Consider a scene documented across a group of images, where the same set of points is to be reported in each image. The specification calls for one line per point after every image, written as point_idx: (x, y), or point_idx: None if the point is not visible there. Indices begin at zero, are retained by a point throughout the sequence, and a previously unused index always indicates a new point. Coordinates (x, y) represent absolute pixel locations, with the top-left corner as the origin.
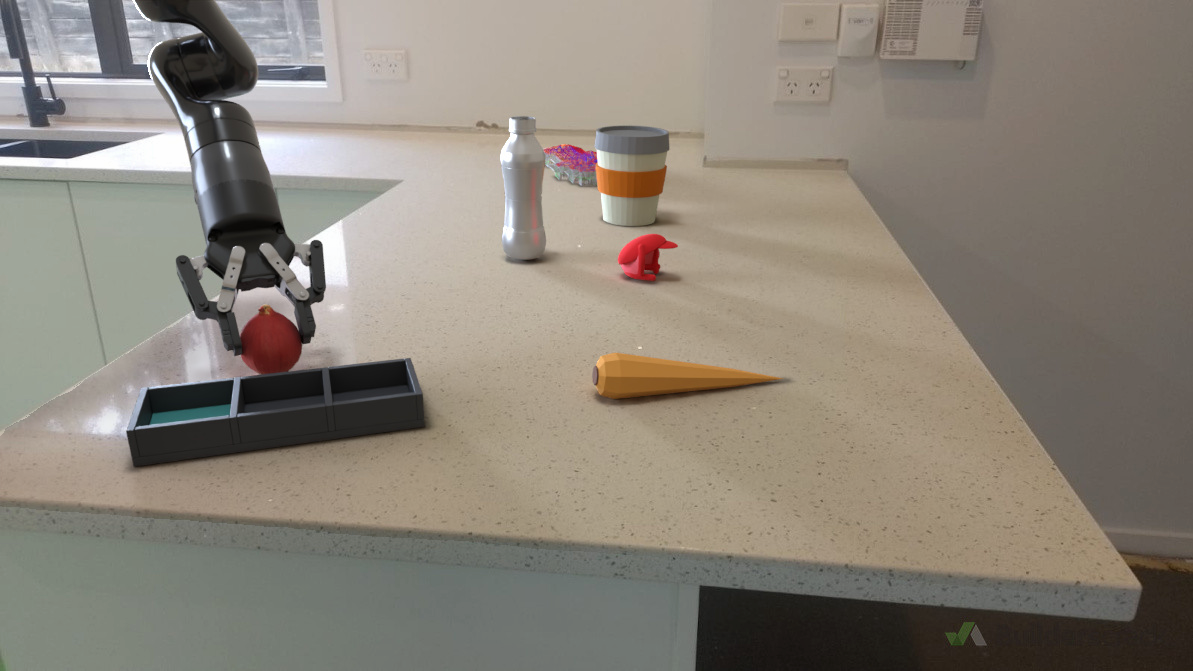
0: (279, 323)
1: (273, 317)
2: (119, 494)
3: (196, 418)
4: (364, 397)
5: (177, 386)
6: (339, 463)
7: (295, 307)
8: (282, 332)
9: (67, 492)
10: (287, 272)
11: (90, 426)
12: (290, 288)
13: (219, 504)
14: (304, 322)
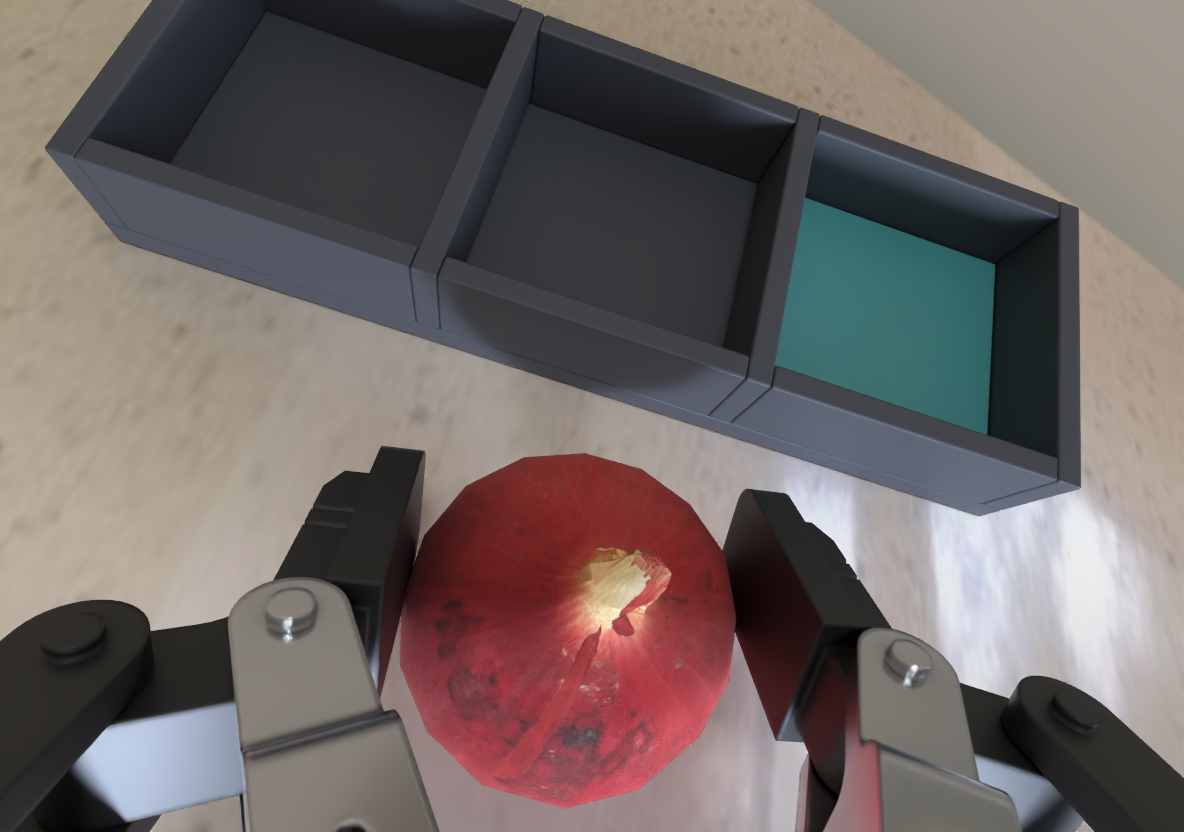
0: (544, 503)
1: (573, 532)
2: (1006, 180)
3: (864, 363)
4: (338, 208)
5: (963, 429)
6: (551, 10)
7: (383, 618)
8: (538, 473)
9: (1107, 250)
10: (322, 786)
11: (1129, 578)
12: (366, 682)
13: (822, 31)
14: (389, 484)
